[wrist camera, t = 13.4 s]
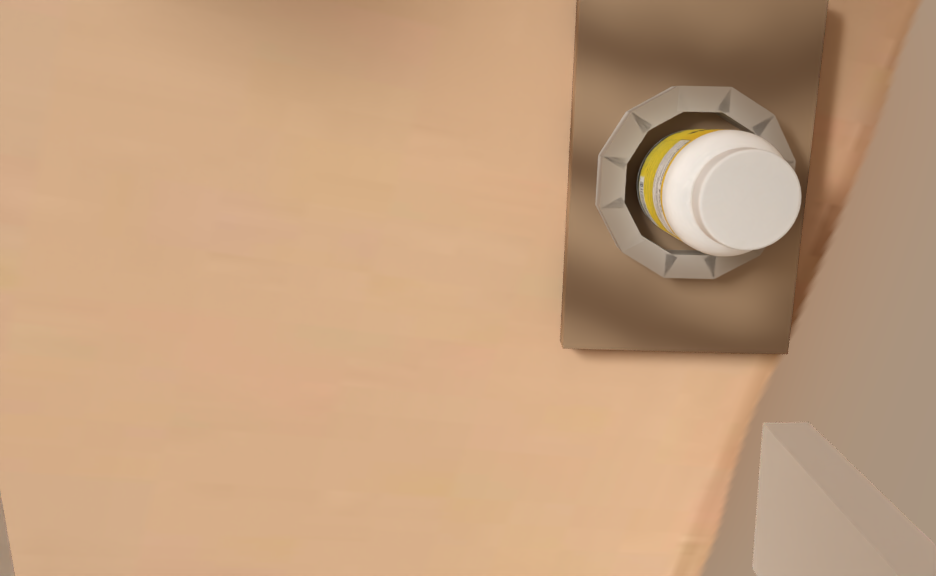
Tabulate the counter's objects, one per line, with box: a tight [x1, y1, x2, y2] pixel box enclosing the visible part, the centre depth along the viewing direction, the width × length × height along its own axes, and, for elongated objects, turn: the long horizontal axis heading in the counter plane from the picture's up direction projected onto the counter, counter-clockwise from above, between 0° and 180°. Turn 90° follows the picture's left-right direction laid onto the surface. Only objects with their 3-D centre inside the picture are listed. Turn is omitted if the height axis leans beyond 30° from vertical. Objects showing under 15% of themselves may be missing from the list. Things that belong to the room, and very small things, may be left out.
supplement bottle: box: [637, 129, 801, 256], centre depth 35 cm, size 5×5×10 cm
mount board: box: [560, 0, 828, 354], centre depth 40 cm, size 18×12×3 cm, turn 179°
